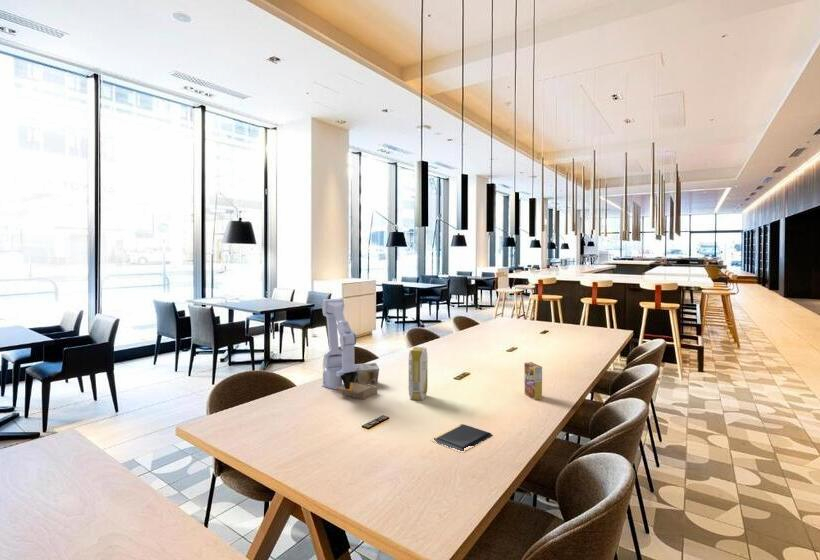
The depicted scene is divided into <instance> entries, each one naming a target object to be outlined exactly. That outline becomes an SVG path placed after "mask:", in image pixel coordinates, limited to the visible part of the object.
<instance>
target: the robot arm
mask: <svg viewBox="0 0 820 560" xmlns="http://www.w3.org/2000/svg"><path fill="white" fill-rule="evenodd" d="M321 308H322V315H323V316H324V317H326V319H325V320H326V328H327V337H328V339H327V340H328V350H327V351H326V352H325V353H324V354H323V367H324V369H323V371H322V385H321V387H324V388H329V389H331V390H337V389H336V388H337V387H340V386H342V385H344V387H345V389H349V388H350V382H354V379H355V377H356V375H357V372H355V371H356V370H360V365H355V364H356V363H355V345H356V344H357V335H356V333H355V332H354V331H353V330H352V328H351V325H350V324H349V321H347V320H345V319H346V318H345V316H344V310H345V301H344V299H343V298H329V299H327V298H326V299H325V298H324V299H323V300H322V303H321ZM338 334H339V335H338ZM339 344H340V348H339Z"/></svg>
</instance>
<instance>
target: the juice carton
mask: <svg viewBox="0 0 820 560" xmlns="http://www.w3.org/2000/svg"><path fill="white" fill-rule="evenodd" d="M428 369H429V368H428V351H427V347H425V346H422V345H420V346H413V347H412V348H411V349H410V350H409V353H408V396H409V399H410V400H414V401H415V400H416V401H417V400H418V401H424V400H425V398H426V396H427V393H428Z"/></svg>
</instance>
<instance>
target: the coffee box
mask: <svg viewBox="0 0 820 560" xmlns="http://www.w3.org/2000/svg"><path fill="white" fill-rule="evenodd" d="M355 365H360V370H356V371H355V372H357V375H356V377H355V379H354V382H360V383H365V384H369V385H374V384H378V383H379V382H378V381H379V375H380V374H379V373H380V367H379V365H378V364H377V362H369V363H365V362H364V363H355ZM354 382H353V383H354Z"/></svg>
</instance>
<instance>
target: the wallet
mask: <svg viewBox="0 0 820 560" xmlns="http://www.w3.org/2000/svg"><path fill="white" fill-rule="evenodd" d="M493 436H494V435H493V434H492V433H491V432H490V431H489V432H488V431H486V430H482V429H479V428H476V427H474V426H470V425H468V424H463V423H462V424H459V425H457V426H455V427H453V428H451V429H448V430H447V431H446V432H445V431H444V432H443V433H440V434H439V435H437V436H435V437H433V438H434V440H435V441H436V442H437V443H440V444H443V445H446V446H448V447H451V448H455V449H457V450H460V451H464V448H466V447H468V446H474V447H476V446H477V445H478V443H479V442H481V441H483V442H484V441H487V440H488V439H490V438H491V437H493ZM487 438H488V439H487ZM437 443H436V444H437ZM481 443H482V442H481ZM440 444H439V445H440ZM476 444H477V445H476ZM479 444H480V443H479ZM475 445H476V446H475Z"/></svg>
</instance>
